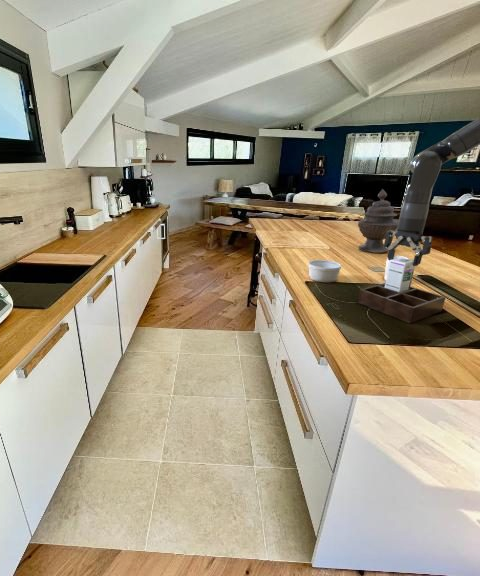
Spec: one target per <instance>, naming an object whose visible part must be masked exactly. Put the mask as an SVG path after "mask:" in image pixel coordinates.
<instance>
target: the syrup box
mask: <svg viewBox="0 0 480 576" xmlns="http://www.w3.org/2000/svg"><path fill="white" fill-rule="evenodd" d="M413 261H414V259H413V260H412V259H410V258H409V259H405V258H399V259H394V260H390V264H389V268H388V273H387V278H386V280H385V282H384V283H385V288H388V289H391V290H394V291H398V292H401V293H402V292H405V291H408V290H410V287H411V285H412V281H413V277H414V273H415V268H416V266H413Z"/></svg>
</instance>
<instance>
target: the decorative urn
mask: <svg viewBox="0 0 480 576" xmlns="http://www.w3.org/2000/svg"><path fill="white" fill-rule="evenodd" d="M387 196H388V194H387V192H386V191H385V190H384V189H383V188H381V190H380V191H379V193H378V194H377V198H378V199H380V200H377V201H373V202H372V206H370V205H369V206H368V207H367V210H366V212H364V213H363V214H362V215H363V216H364V219H360V220H358V222H357V227H358V229H359V232H360V233H361V234H362V236H363V237H364V238H366V240H365V242H364V244H360V245H358V249H359V250H360V251H362V252H367V253H372V254H382V253H386V252H388V251H389V249H388V248H386V247H384V240H385V238H386V235H387V232H388V231H392V230H394V232H396V231H397V230H398V229H397V227H398V222H397V221H396V220H394V218H395V217H396V216H398V214H396V213H395V208H394V207H393V206H391V202H390V201H388V200H385V198H387Z"/></svg>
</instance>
